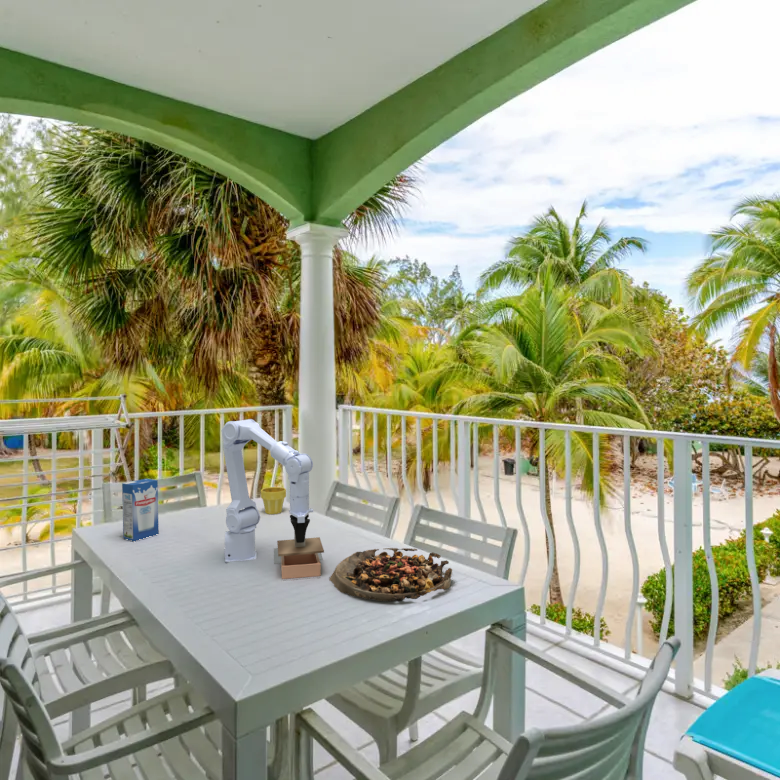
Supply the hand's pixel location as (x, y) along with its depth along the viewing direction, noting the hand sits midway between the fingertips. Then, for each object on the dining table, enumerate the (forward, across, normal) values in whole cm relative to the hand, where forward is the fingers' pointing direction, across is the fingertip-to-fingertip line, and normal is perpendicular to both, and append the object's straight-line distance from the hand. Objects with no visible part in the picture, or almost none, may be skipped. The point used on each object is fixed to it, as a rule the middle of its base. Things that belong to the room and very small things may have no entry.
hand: (299, 540), depth 166 cm
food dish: (+10, -13, -25) cm, 30 cm away
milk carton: (+9, +47, +54) cm, 72 cm away
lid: (+2, 0, 0) cm, 2 cm away
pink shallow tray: (+9, -2, 0) cm, 9 cm away
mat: (+9, +13, 0) cm, 16 cm away
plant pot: (+9, +70, +7) cm, 71 cm away
